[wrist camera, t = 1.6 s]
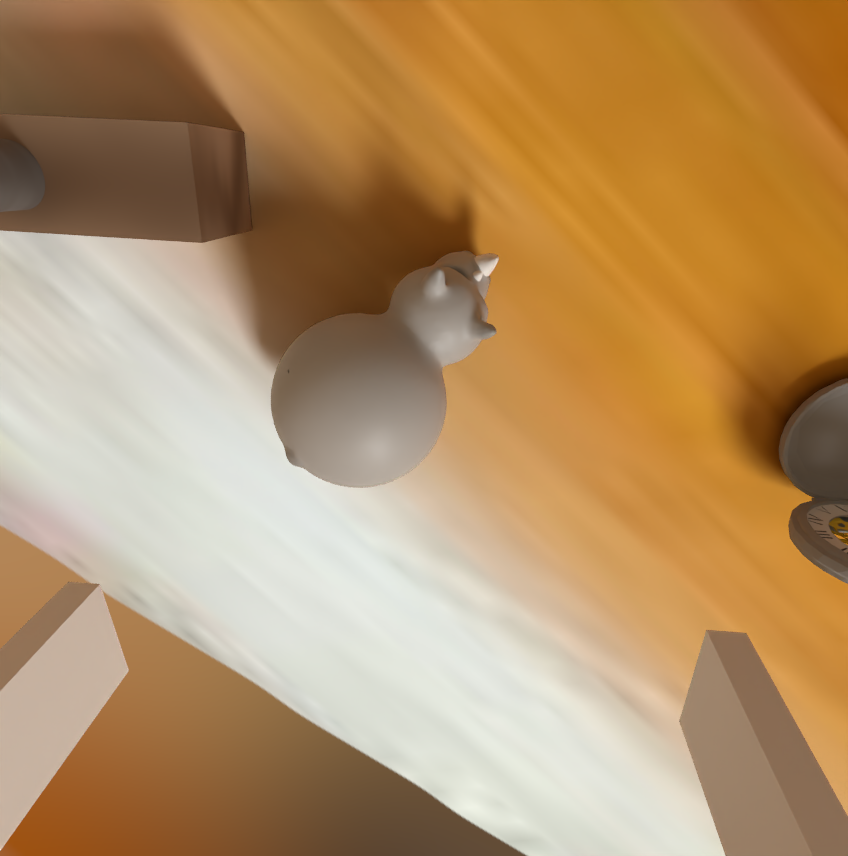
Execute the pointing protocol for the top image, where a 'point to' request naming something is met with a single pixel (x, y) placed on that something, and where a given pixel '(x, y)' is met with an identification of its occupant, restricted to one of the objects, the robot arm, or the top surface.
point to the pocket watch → (820, 477)
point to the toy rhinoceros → (381, 375)
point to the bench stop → (122, 178)
